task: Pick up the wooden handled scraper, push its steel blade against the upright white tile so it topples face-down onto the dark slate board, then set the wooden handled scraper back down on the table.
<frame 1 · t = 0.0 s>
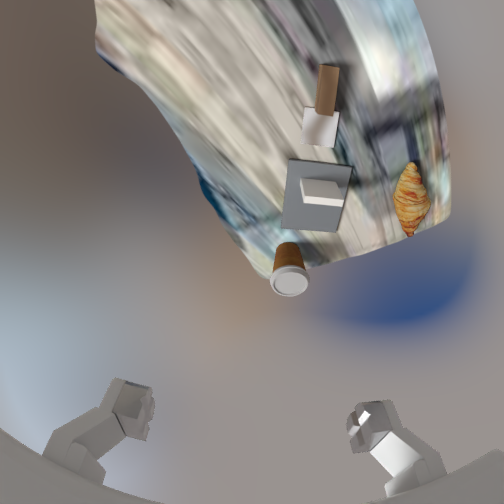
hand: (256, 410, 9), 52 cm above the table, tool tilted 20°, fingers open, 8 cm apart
disposable coffee cup: (287, 250, 73), on the table
wooden handled scraper: (324, 88, 44), on the table
slate board: (314, 197, 61), on the table
croissant: (408, 196, 59), on the table
tile: (318, 182, 58), point 1 cm above the table, touching slate board
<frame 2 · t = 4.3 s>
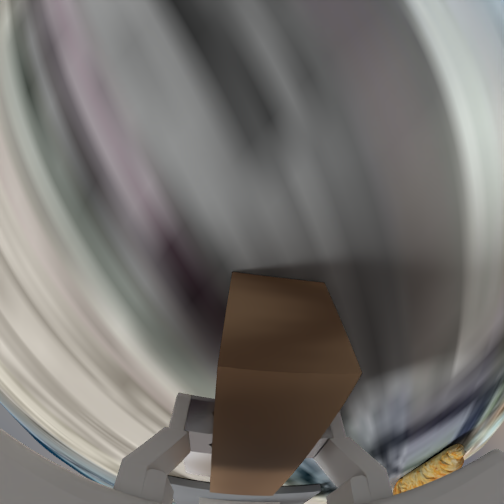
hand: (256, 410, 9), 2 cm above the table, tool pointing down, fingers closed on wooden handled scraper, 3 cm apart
wooden handled scraper: (256, 380, 11), on the table, touching gripper
slate board: (235, 503, 20), on the table
croissant: (424, 468, 20), on the table
tile: (239, 502, 18), point 1 cm above the table, touching slate board
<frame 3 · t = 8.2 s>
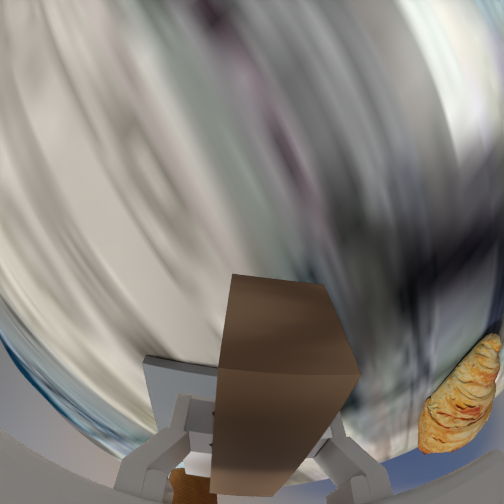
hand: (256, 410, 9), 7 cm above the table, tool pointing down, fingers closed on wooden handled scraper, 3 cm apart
disposable coffee cup: (193, 474, 27), on the table
wooden handled scraper: (256, 381, 11), point 5 cm above the table, touching gripper
slate board: (233, 430, 21), on the table
croissant: (451, 393, 21), on the table
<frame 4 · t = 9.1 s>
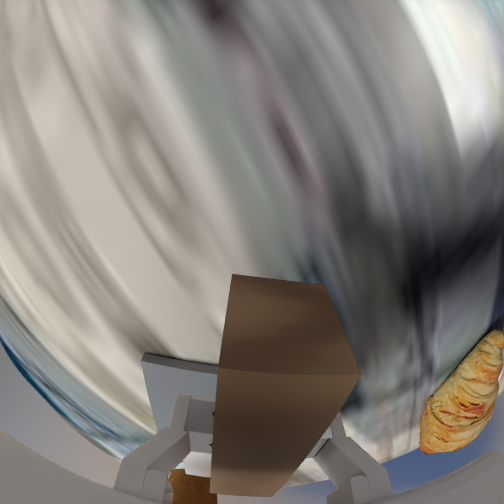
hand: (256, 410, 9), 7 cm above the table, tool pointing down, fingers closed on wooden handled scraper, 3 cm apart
disposable coffee cup: (193, 475, 27), on the table
wooden handled scraper: (256, 381, 11), point 5 cm above the table, touching gripper
slate board: (234, 430, 20), on the table
croissant: (453, 392, 20), on the table
when the fingers open (3 cm above the table, at t = 12.6 s): wooden handled scraper drops 1 cm, on the table.
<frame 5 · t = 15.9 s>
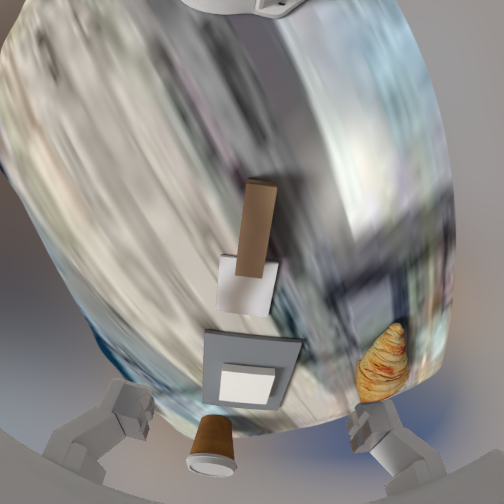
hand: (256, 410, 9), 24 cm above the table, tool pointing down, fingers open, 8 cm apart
disposable coffee cup: (216, 421, 48), on the table
wooden handled scraper: (254, 222, 31), on the table
slate board: (246, 375, 41), on the table
croissant: (379, 362, 41), on the table
tile: (248, 369, 38), point 2 cm above the table, tilted 90°, touching slate board
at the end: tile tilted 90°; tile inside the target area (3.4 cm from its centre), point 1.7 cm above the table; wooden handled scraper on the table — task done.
